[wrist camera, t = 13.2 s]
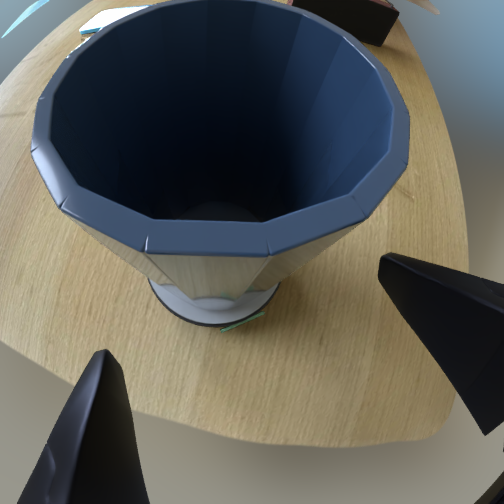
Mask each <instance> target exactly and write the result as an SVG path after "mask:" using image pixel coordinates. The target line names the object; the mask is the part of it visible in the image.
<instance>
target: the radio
mask: <svg viewBox="0 0 504 504" xmlns="http://www.w3.org/2000/svg"><path fill="white" fill-rule="evenodd" d="M385 1H387V2H388V3H389V4H388V3H386V2H383V1H380V0H288V2H287V5H290V6H294V7H297V8H300V9H303V10H306V11H308V12H311V13H313V14H315V15H317V16H319V17H321V18H323V19H325V20H327V21H329V22H330V23H332V24H334V25H336V26H338V27H339V28H341V29H343V30H344V31H346V32H348V33H349V34H351V35H352V36H353V37H355V38H356V39H357V40H358V41H362V42H365V43H369V44H372V45H375V46H379V47H380V46H382V44H383V42H384V41H385V39H386V37H387V35H388V34H389V32H390V30H391V28H392V26H393V25H394V23H395V21H396V19H397V18H398V16H399V12H398V11H397V10H396V9H395V8H394V7H393V4H392V3H390V2H389V1H388V0H385Z"/></svg>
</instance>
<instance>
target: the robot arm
mask: <svg viewBox="0 0 504 504" xmlns="http://www.w3.org/2000/svg"><path fill="white" fill-rule="evenodd" d="M378 280H379V282H380V283H381V285H382V286H383V288H384V289H385V291H386V292H387V294H388V295H389V297H390V298H391V300H392V302H393V303H394V305H395V306H396V308H397V309H398V311H399V312H400V314H401V315H402V316H403V318H404V319H405V320H406V322H407V323H408V324H409V325H410V327H411V328H412V329H413V331H414V332H415V333H416V335H417V336H418V337H419V339H420V340H421V341H422V343H423V344H424V345H425V347H426V348H427V349H428V351H429V352H430V353H431V355H432V356H433V357H434V359H435V360H436V362H437V363H438V364H439V366H440V367H441V369H442V370H443V372H444V373H445V374H446V376H447V377H448V379H449V380H450V382H451V383H452V385H453V386H454V388H455V389H456V391H457V392H458V394H459V395H460V397H461V398H462V400H463V402H464V403H465V405H466V406H467V408H468V409H469V411H470V413H471V414H472V416H473V418H474V419H475V421H476V423H477V424H478V426H479V428H480V429H481V431H482V433H483V434H484V435H485V436H486V435H487V434H489V433H490V432H491V431H492V430H494V429H495V428H496V427H497V426H499V425H500V424H501V423H502V422H504V284H501V283H497V282H494V281H490V280H487V279H484V278H480V277H477V276H474V275H471V274H467V273H464V272H461V271H457V270H454V269H450V268H447V267H443V266H440V265H436V264H433V263H429V262H426V261H422V260H418V259H415V258H411V257H407V256H404V255H400V254H396V253H392V252H390V253H387V254H385V255H382V256H381V258H380V262H379V270H378ZM503 452H504V449H503ZM17 504H150V502H149V499H148V495H147V491H146V487H145V483H144V478H143V474H142V469H141V465H140V460H139V454H138V449H137V444H136V437H135V430H134V423H133V417H132V412H131V407H130V403H129V399H128V394H127V389H126V384H125V379H124V374H123V370H122V367H121V366H120V364H119V363H118V362H117V360H116V359H115V358H114V356H113V355H112V354H111V352H110V351H109V350H107V349H104V350H100V351H96V352H95V353H94V354H93V356H92V358H91V359H90V361H89V363H88V365H87V366H86V368H85V370H84V371H83V373H82V375H81V377H80V378H79V380H78V382H77V384H76V386H75V387H74V389H73V391H72V393H71V395H70V397H69V399H68V400H67V402H66V404H65V406H64V408H63V410H62V412H61V414H60V416H59V418H58V420H57V422H56V424H55V426H54V428H53V430H52V432H51V434H50V436H49V438H48V440H47V444H46V445H45V447H44V449H43V451H42V453H41V455H40V458H39V460H38V462H37V464H36V466H35V468H34V470H33V473H32V474H31V476H30V478H29V480H28V482H27V484H26V486H25V488H24V490H23V492H22V494H21V496H20V498H19V500H18V502H17ZM474 504H504V472H502V474H501V475H500V476H499V477H498V479H497V480H496V481H495V482H494V483H493V484H492V486H490V488H489V489H488V490H487V491H486V492H485V493H484V494H483V495H482V496H481V497H480V498H479V499H478V500H477V501H476V502H475V503H474Z"/></svg>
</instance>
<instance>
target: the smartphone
mask: <svg viewBox="0 0 504 504" xmlns="http://www.w3.org/2000/svg"><path fill="white" fill-rule="evenodd" d="M148 6H151V5H144V6H134V7H125V8H118V9H111V10H106V11H103V12H101V13H99V14H98V15H97V16H95V17H94V18H93V19H91V20H90V21H89V22H88V23H87V24H85V25H84V26H83V27H82V28H81V29H80V33H81V34H86V33H92V32H97V31H99V30H100V29H102V28H103V27H104V26H106V25H108V24H109V23H111V22H114V21H116V20H118V19H120V18H122V17H124V16H126V15H129V14H131V13H133V12H136V11H138V10H141V9H143V8H146V7H148Z"/></svg>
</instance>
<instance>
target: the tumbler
mask: <svg viewBox="0 0 504 504" xmlns="http://www.w3.org/2000/svg"><path fill="white" fill-rule="evenodd" d="M409 139H410V116H409V111H408V109H407V107H406V105H405V102H404V100H403V98H402V96H401V94H400V92H399V90H398V88H397V86H396V84H395V82H394V80H393V78H392V76H391V74H390V72H389V71H388V69H387V68H386V67H385V66H384V65H383V64H382V63H381V62H380V61H379V60H378V59H377V58H376V57H375V56H374V55H373V54H372V53H371V52H370V51H369V50H368V49H367V48H366V47H365V46H364V45H363V44H362V43H361V42H360V41H358V40H357V39H356V38H355V37H353V36H352V35H351V34H349V33H348V32H346V31H344V30H343V29H341V28H339V27H338V26H336V25H334V24H332V23H330V22H329V21H327V20H325V19H323V18H321V17H319V16H317V15H315V14H313V13H311V12H308V11H306V10H303V9H300V8H297V7H294V6H290V5H287V4H283V3H280V2H276V1H272V0H171V1H166V2H161V3H157V4H154V5H151V6H148V7H146V8H143V9H141V10H138V11H136V12H133V13H131V14H129V15H126V16H124V17H122V18H120V19H118V20H116V21H114V22H111V23H109V24H108V25H106V26H104V27H103V28H102V29H100V30H99V31H97V32H96V33H95V34H93V35H92V36H91V37H90V38H88V39H87V40H86V41H84V42H83V43H82V44H81V45H80V46H78V47H77V48H76V49H75V50H74V51H72V52H71V53H70V54H69V55H68V56H67V57H66V58H65V59H64V60H63V62H62V63H61V65H60V66H59V67H58V69H57V70H56V72H55V73H54V75H53V76H52V78H51V79H50V81H49V83H48V84H47V86H46V87H45V89H44V91H43V92H42V94H41V96H40V97H39V99H38V102H37V106H36V112H35V118H34V125H33V132H32V141H31V157H32V159H33V161H34V163H35V165H36V167H37V169H38V171H39V173H40V175H41V177H42V179H43V181H44V183H45V185H46V187H47V189H48V191H49V193H50V195H51V196H52V198H53V200H54V202H55V204H56V205H57V207H58V209H60V210H61V211H62V213H64V214H65V215H66V216H67V217H68V218H70V219H71V220H72V221H73V222H75V223H76V224H77V225H78V226H79V227H81V228H82V229H83V230H84V231H86V232H87V233H88V234H89V235H91V236H92V237H93V238H95V239H96V240H97V241H98V242H100V243H101V244H102V245H104V246H105V247H106V248H108V249H109V250H110V251H112V252H113V253H114V254H116V255H117V256H118V257H120V258H121V259H122V260H124V261H125V262H126V263H128V264H129V265H131V266H132V267H133V268H135V269H136V270H138V271H139V272H140V273H142V274H143V275H145V276H146V277H148V278H149V279H150V280H152V281H153V282H155V283H156V284H158V285H159V286H161V287H162V288H164V289H165V290H167V291H168V292H170V293H171V294H173V295H174V296H176V297H177V298H179V299H180V300H182V301H184V302H186V303H188V304H190V305H192V306H195V307H197V308H199V309H202V310H210V311H228V310H231V309H234V308H237V307H240V306H242V305H244V304H246V303H249V302H251V301H252V300H254V299H255V298H257V297H258V296H260V295H261V294H263V293H264V292H266V291H267V290H269V289H270V288H272V287H273V286H275V285H276V284H277V283H279V282H280V281H282V280H283V279H285V278H286V277H288V276H289V275H290V274H292V273H293V272H295V271H296V270H298V269H299V268H300V267H302V266H303V265H305V264H306V263H308V262H309V261H310V260H312V259H313V258H315V257H316V256H317V255H319V254H320V253H322V252H323V251H324V250H326V249H327V248H328V247H330V246H331V245H333V244H334V243H335V242H337V241H338V240H339V239H341V238H342V237H344V236H345V235H346V234H348V233H349V232H350V231H352V230H353V229H354V228H356V227H357V226H358V225H360V224H361V223H362V222H364V221H365V220H366V219H368V218H369V217H370V216H371V214H372V213H373V212H374V211H375V209H376V208H377V207H378V205H379V204H380V203H381V202H382V200H383V199H384V198H385V197H386V195H387V194H388V193H389V191H390V190H391V189H392V187H393V186H394V185H395V184H396V182H397V181H398V180H399V178H400V177H401V176H402V174H403V173H404V172H405V170H406V168H407V165H408V158H409Z"/></svg>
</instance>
